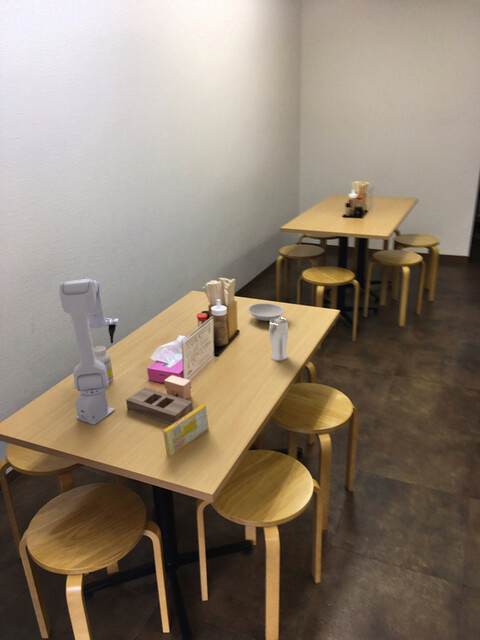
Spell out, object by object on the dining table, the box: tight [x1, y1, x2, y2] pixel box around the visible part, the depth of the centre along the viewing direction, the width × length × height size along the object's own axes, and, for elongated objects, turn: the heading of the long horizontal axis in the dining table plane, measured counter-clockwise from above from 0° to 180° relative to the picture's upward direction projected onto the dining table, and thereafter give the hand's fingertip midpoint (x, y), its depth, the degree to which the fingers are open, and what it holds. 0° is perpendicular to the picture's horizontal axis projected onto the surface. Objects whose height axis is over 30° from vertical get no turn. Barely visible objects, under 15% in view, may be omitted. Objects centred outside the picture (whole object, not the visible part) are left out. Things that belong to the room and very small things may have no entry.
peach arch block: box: [164, 374, 192, 400], centre depth 180 cm, size 4×8×6 cm, turn 58°
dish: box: [247, 302, 285, 322], centre depth 236 cm, size 18×14×5 cm
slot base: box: [125, 387, 194, 425], centre depth 173 cm, size 9×20×4 cm, turn 58°
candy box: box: [162, 404, 210, 457], centre depth 156 cm, size 16×2×8 cm, turn 141°
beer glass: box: [268, 317, 289, 362], centre depth 201 cm, size 7×7×15 cm
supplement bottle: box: [93, 345, 114, 383], centre depth 192 cm, size 7×7×13 cm
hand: (101, 342), depth 199 cm, fingers open, 7 cm apart
